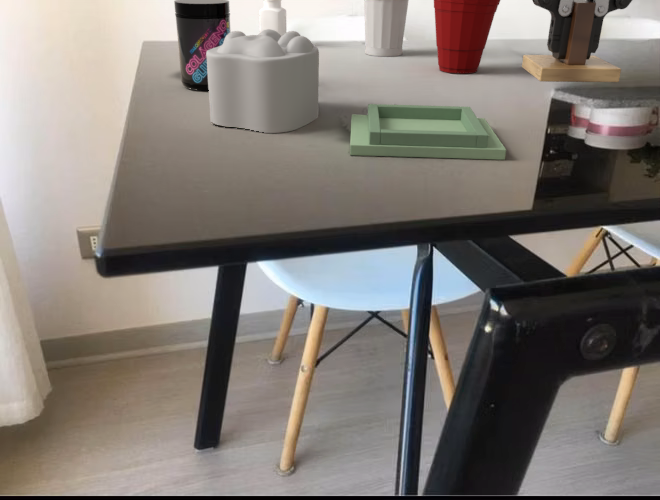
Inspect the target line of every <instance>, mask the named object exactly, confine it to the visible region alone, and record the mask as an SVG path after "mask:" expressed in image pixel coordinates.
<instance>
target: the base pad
mask: <svg viewBox="0 0 660 500" xmlns="http://www.w3.org/2000/svg"><path fill="white" fill-rule="evenodd" d="M349 143H350V144H349V155H350V156H365V157H397V158H426V159H427V158H429V159H431V158H433V159H463V160H465V159H466V160H493V161H494V160H498V161H499V160H500V161H504V160H506V155H507V149H506V147H505V145H504V144H503V143H502V141H501V140H500V139H499V137H498V136H497V134H496V132H495V131H494V130H493V128H492V127H491V126H490V124H489V123H488V122H487V120H486V118H484V117H477V115H476V114H475V112H474V111H473V110H472V107H471V106H459V105H455V106H452V105H421V104H420V105H419V104H385V103H380V104H379V103H368V105H367V114H351V121H350V142H349Z"/></svg>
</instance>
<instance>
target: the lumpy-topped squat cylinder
mask: <svg viewBox="0 0 660 500" xmlns="http://www.w3.org/2000/svg"><path fill="white" fill-rule="evenodd" d="M286 32H287V33H285V34H284V35H282V36H281V35H280V34H279V33H278V32H276V31H274V30H271V29H267V30H264V31H262V32H260V31H259V33H258V34H250V35H246V34H245V32H243V31H240V30H233V31H231V32H230V33H229V34H227V36H226V37H225V39H224V42H223V44H222V45H221V46H219V47H215V48H212V49H210V50H208V51H207V52H206V58H207V74H208V89H209V91H208V103H209V118H210V123H211V122H213V123H215V124H217V125H222V126H229V127H239V128H245V129H250V130H249V131H251V130H254V131H253V132H256V131H259V132H258V133H262V132H264V134H280V133H288V132H291V131H295V130H298V129H300V128H302V127H304V126H306V125H308V124H311V123H312V122H314V120H316V119H317V118H318V117H319V92H320V91H319V87H320V86H319V85H320V83H319V81H320V80H319V79H320V77H319V76H320V75H319V73H320V72H319V71H320V70H319V69H320V51H319V48H318V47H317V46H316V45H315V44H314V43H313V42H312V41H311V39H309V38H308V37H306V36H304V35H301V33H299V32H298V31H296V30H289V31H286ZM245 129H244V130H245Z"/></svg>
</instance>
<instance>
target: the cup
mask: <svg viewBox="0 0 660 500" xmlns="http://www.w3.org/2000/svg"><path fill="white" fill-rule="evenodd" d="M363 3H364V4H363V5H364V7H363V8H364V9H363V10H364V39H365V40H364V41H365V45H364V47H365V49H364V53H365V54H366V55H368V56H373V57H398V56H402V54H403V45H404V44H403V43H404V37H405V29H406V21H407V16H408V15H407V13H408V7H409V0H363Z"/></svg>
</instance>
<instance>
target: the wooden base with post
mask: <svg viewBox="0 0 660 500" xmlns="http://www.w3.org/2000/svg"><path fill="white" fill-rule="evenodd" d="M595 7H596V3H594V2H591V1H587V0H574V4H573V9H572V12H571V13H570V16H569V17H572V22H571V28H570V34H569V40H568V46H567V52H566V57H565V59H556V58H554V57H553V56H552V54H524V55H522V63H521V68H523V69H524V70H525V71H526V72H528V73H529V74H530V75H531V76H532V77H534V78H535V79H537V80H538V81H539V82H543V83H544V82H545V83H546V82H549V83H550V82H551V83H552V82H553V83H554V82H555V83H559V82H560V83H620V77H621V73H622V68H620V67H618V66H617V65H615V64H612V63H610V62H608V61H606V60H604V59H602V58H600V57H598V56H596V55H591V56H590V58H589V59H588V60H586V58H587V52H588V46H589V41H590V35H591V30H592V24H593V18H594V13H595Z"/></svg>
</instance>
